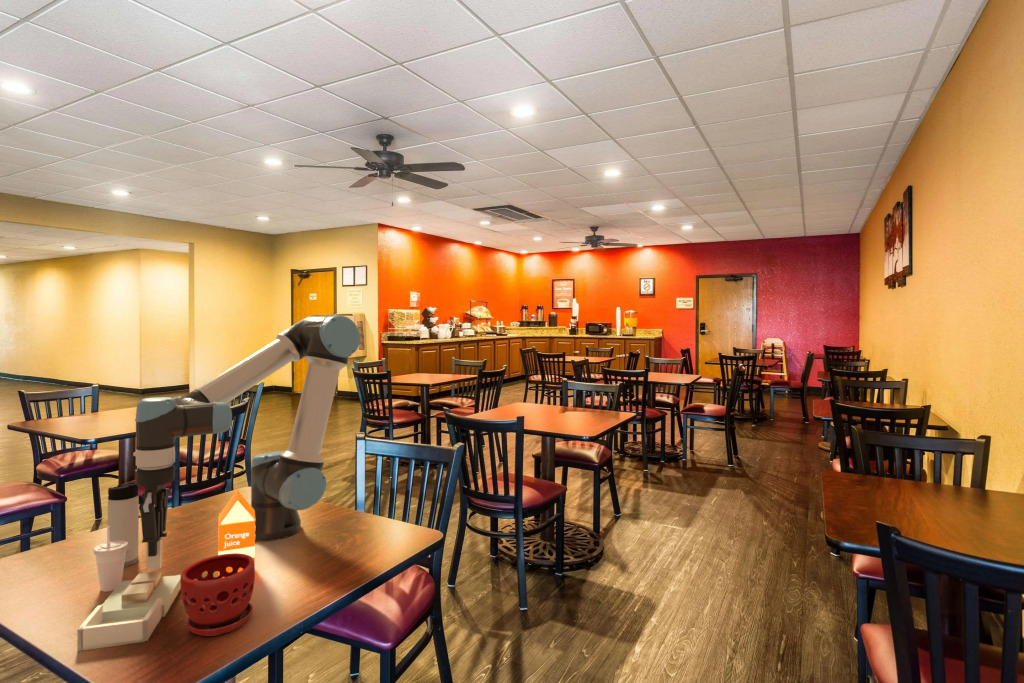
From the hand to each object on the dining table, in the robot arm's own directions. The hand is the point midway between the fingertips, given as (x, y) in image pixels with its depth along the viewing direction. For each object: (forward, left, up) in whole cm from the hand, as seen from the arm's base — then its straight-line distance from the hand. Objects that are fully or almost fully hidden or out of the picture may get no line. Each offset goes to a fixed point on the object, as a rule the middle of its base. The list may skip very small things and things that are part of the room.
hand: (154, 567), depth 124 cm
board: (0, +9, -4) cm, 10 cm away
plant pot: (-17, +22, -4) cm, 28 cm away
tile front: (0, +11, -2) cm, 11 cm away
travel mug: (+11, -15, -4) cm, 19 cm away
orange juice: (-17, +1, -4) cm, 18 cm away
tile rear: (0, +6, -2) cm, 6 cm away
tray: (0, +20, -4) cm, 21 cm away
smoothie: (+9, -1, -4) cm, 10 cm away
